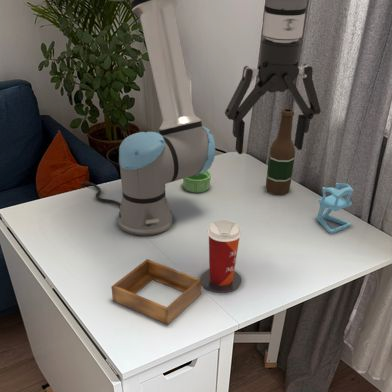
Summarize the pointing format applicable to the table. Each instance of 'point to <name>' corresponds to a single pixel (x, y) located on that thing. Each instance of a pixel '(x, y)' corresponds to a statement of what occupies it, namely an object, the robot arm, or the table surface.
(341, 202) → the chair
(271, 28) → the robot arm
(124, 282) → the wooden frame
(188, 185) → the ramekin
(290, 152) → the beer bottle
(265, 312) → the table surface
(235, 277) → the coaster
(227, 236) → the paper cup
